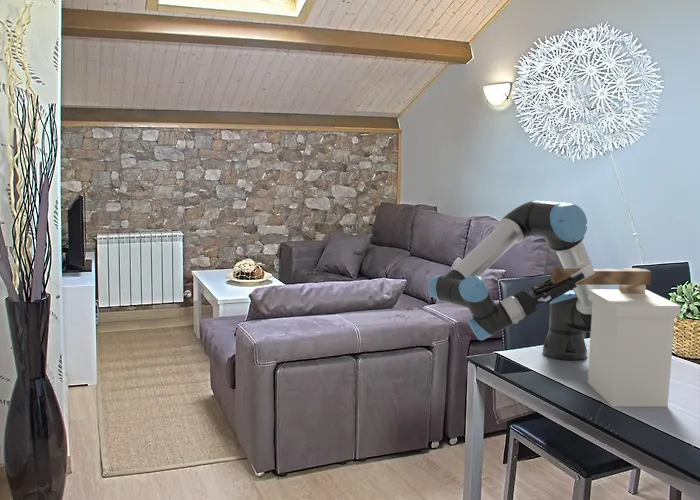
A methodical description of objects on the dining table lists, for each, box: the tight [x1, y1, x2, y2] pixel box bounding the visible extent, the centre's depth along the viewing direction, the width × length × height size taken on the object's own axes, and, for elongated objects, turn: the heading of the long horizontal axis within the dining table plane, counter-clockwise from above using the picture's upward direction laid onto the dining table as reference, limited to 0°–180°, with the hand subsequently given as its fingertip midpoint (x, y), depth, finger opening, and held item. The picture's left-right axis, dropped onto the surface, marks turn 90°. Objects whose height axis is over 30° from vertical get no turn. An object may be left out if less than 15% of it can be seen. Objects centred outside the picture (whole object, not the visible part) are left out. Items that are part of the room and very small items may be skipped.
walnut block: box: [550, 268, 652, 286], centre depth 199 cm, size 28×4×4 cm, turn 91°
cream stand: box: [587, 288, 682, 408], centre depth 203 cm, size 18×22×30 cm
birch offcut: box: [618, 285, 647, 294], centre depth 208 cm, size 6×5×4 cm
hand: (589, 267), depth 199 cm, fingers closed on walnut block, 4 cm apart
